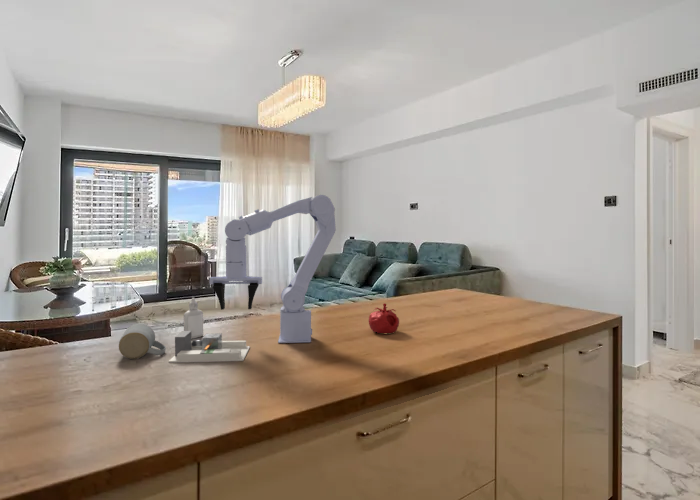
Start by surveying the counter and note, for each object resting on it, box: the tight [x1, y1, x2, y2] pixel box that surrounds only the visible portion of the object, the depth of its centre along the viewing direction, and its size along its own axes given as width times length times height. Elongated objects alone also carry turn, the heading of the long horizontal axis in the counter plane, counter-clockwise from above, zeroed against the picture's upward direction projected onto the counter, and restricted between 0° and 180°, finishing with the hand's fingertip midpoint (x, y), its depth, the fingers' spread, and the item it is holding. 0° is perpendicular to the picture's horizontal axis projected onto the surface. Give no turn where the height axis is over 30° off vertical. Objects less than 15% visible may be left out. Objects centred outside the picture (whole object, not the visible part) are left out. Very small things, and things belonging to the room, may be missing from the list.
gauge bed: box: [168, 330, 251, 364], centre depth 106 cm, size 18×11×5 cm, turn 96°
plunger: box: [192, 332, 223, 350], centre depth 105 cm, size 7×9×4 cm
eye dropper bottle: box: [183, 297, 204, 340], centre depth 123 cm, size 4×6×12 cm
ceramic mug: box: [118, 322, 167, 360], centre depth 106 cm, size 11×8×8 cm
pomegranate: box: [368, 302, 400, 334], centre depth 131 cm, size 10×10×9 cm
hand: (236, 308), depth 117 cm, fingers open, 7 cm apart
